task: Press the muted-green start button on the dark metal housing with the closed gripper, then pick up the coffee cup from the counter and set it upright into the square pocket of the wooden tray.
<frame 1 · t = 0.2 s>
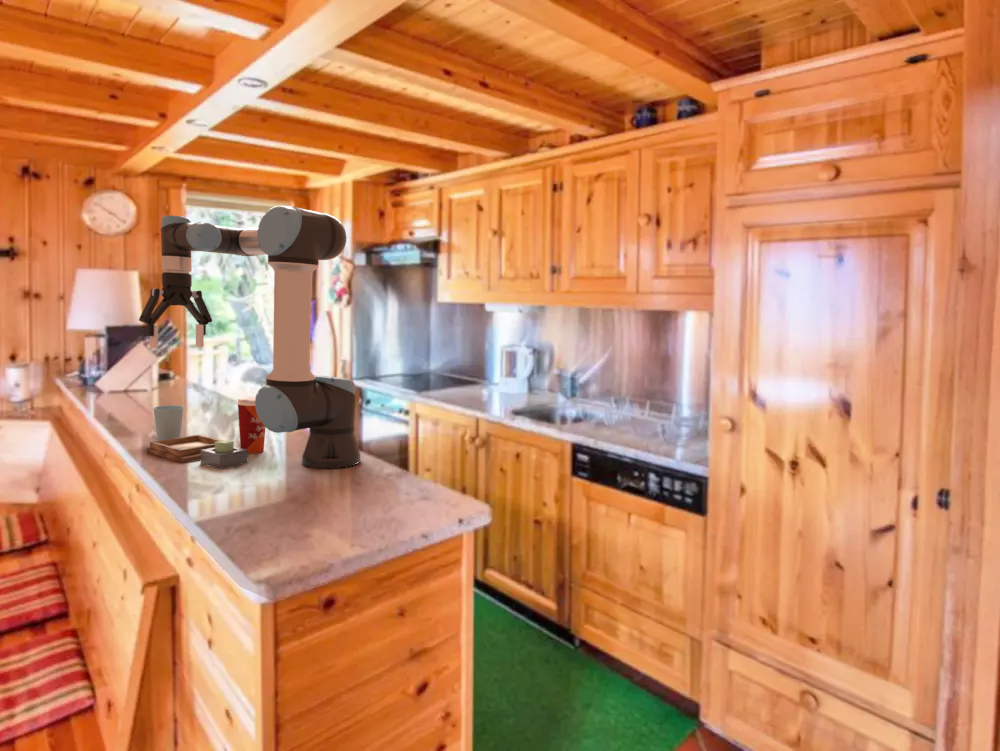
hand: (177, 347, 182), 28 cm above the counter, fingers open, 13 cm apart
wooden tray: (191, 452, 174), on the counter
start button: (224, 449, 164), point 3 cm above the counter, slide at 0.0 cm
cup: (168, 443, 183), on the counter
coffee cup: (252, 451, 179), on the counter
button housing: (224, 463, 164), on the counter
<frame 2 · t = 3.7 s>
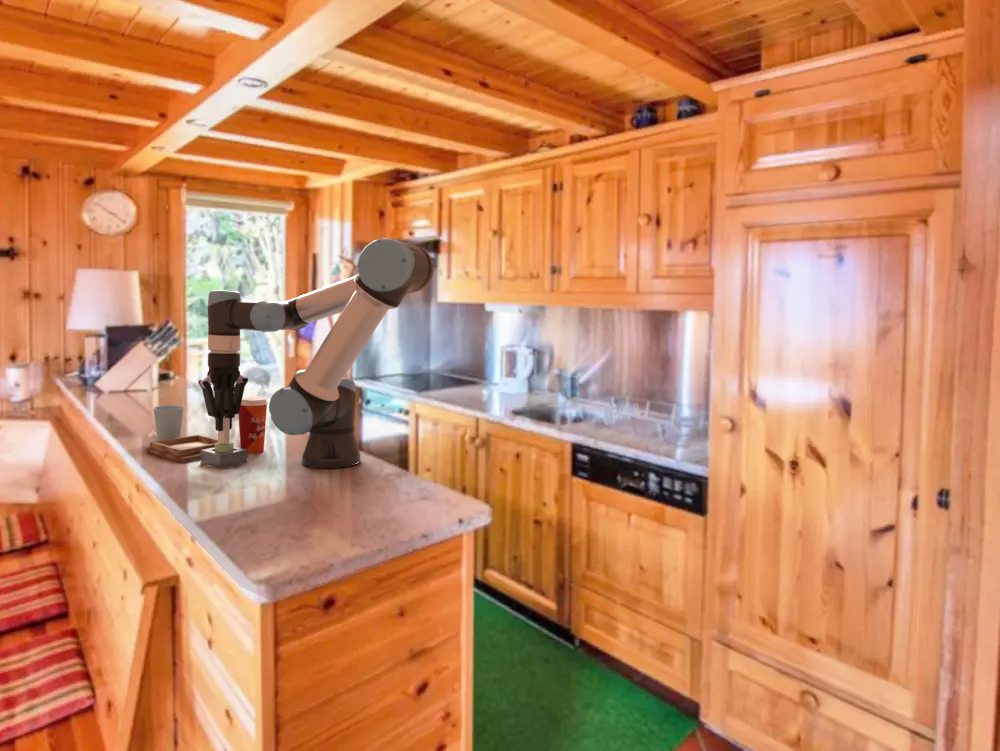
hand: (223, 442, 164), 5 cm above the counter, fingers closed
start button: (224, 451, 164), point 3 cm above the counter, slide at 0.4 cm, touching gripper
everything else where it was.
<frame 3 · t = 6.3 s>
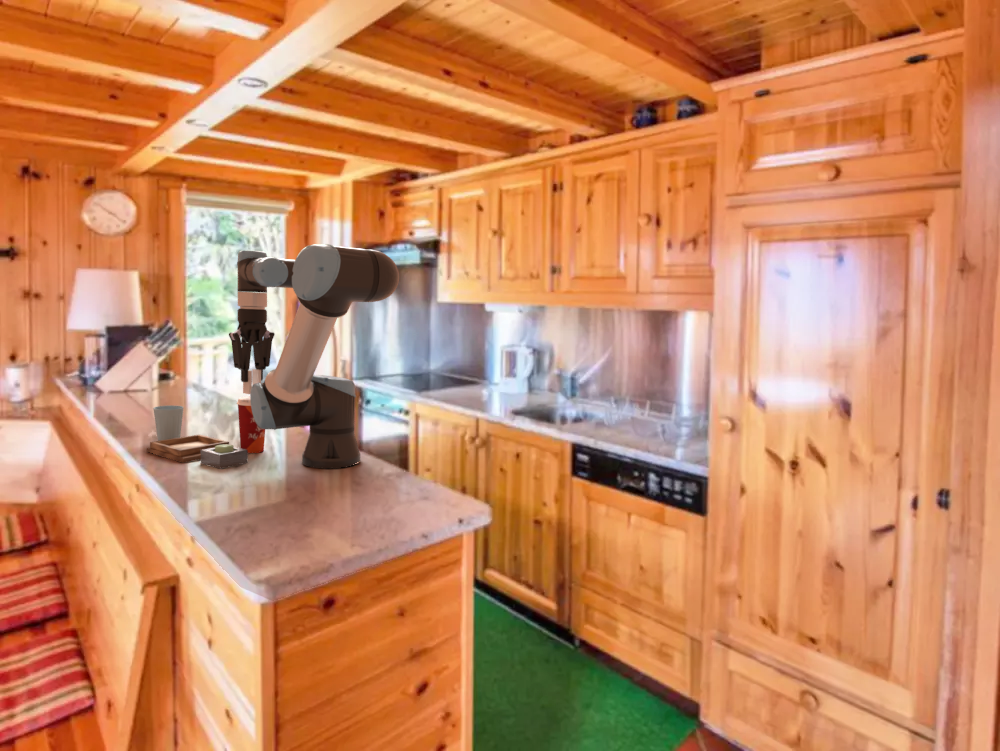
hand: (252, 392, 176), 17 cm above the counter, fingers open, 2 cm apart
start button: (224, 453, 164), point 2 cm above the counter, slide at 1.1 cm
everything else where it was.
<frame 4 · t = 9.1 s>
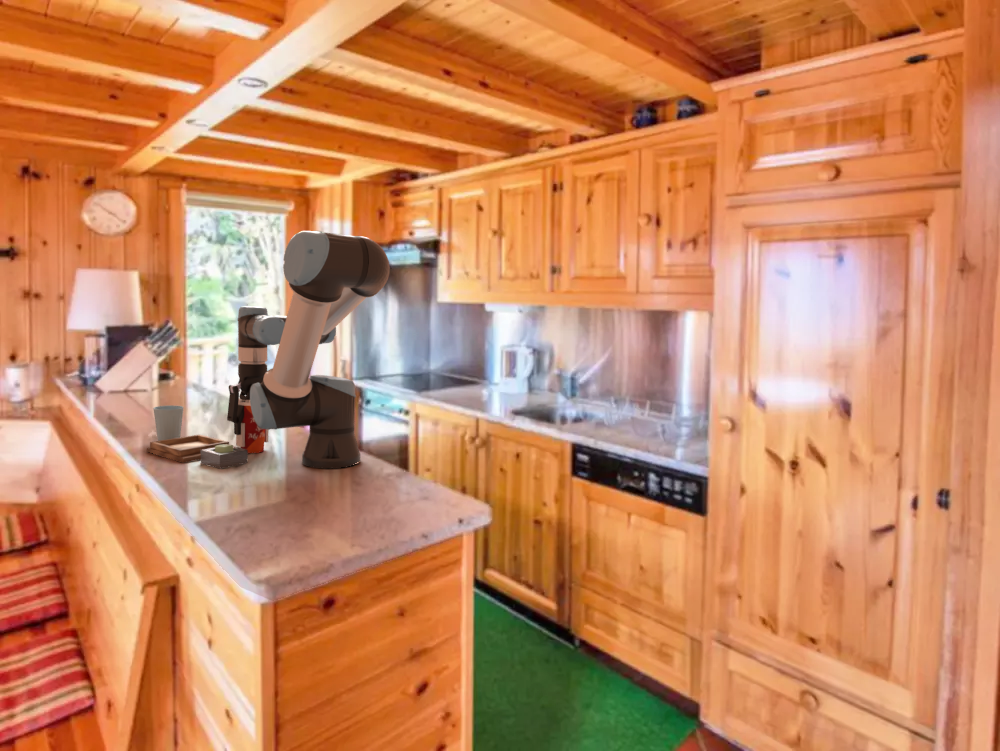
hand: (252, 443, 178), 2 cm above the counter, fingers closed on coffee cup, 7 cm apart
coffee cup: (252, 451, 179), on the counter, touching gripper
everything else where it was.
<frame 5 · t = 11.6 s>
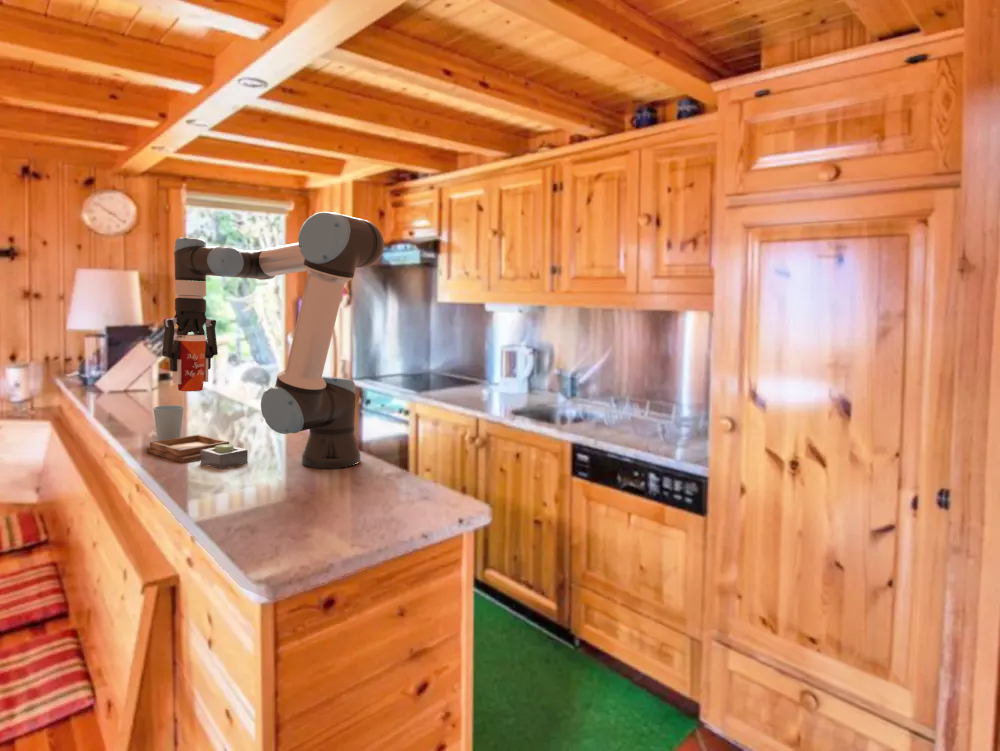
hand: (190, 382, 172), 19 cm above the counter, fingers closed on coffee cup, 7 cm apart
coffee cup: (190, 390, 172), point 17 cm above the counter, touching gripper
everything else where it was.
when the fingers open (4 cm above the counter, at t = 14.4 s): coffee cup stays where it is, resting on wooden tray.
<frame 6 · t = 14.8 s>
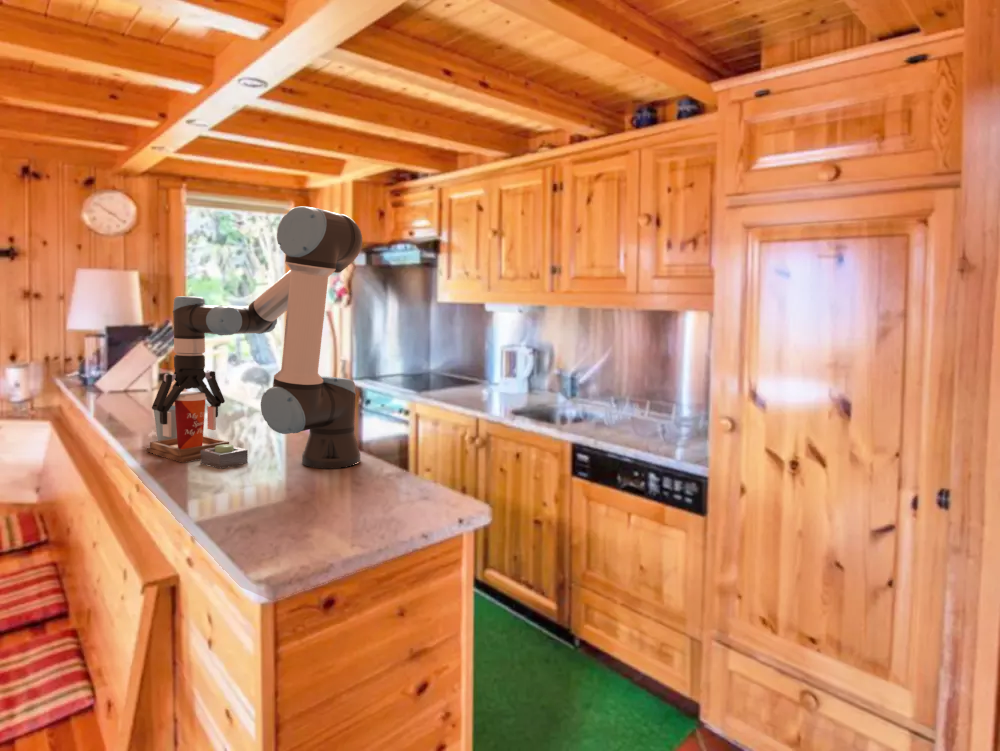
hand: (190, 432, 173), 5 cm above the counter, fingers open, 12 cm apart
coffee cup: (190, 448, 174), point 1 cm above the counter, touching wooden tray
everything else where it was.
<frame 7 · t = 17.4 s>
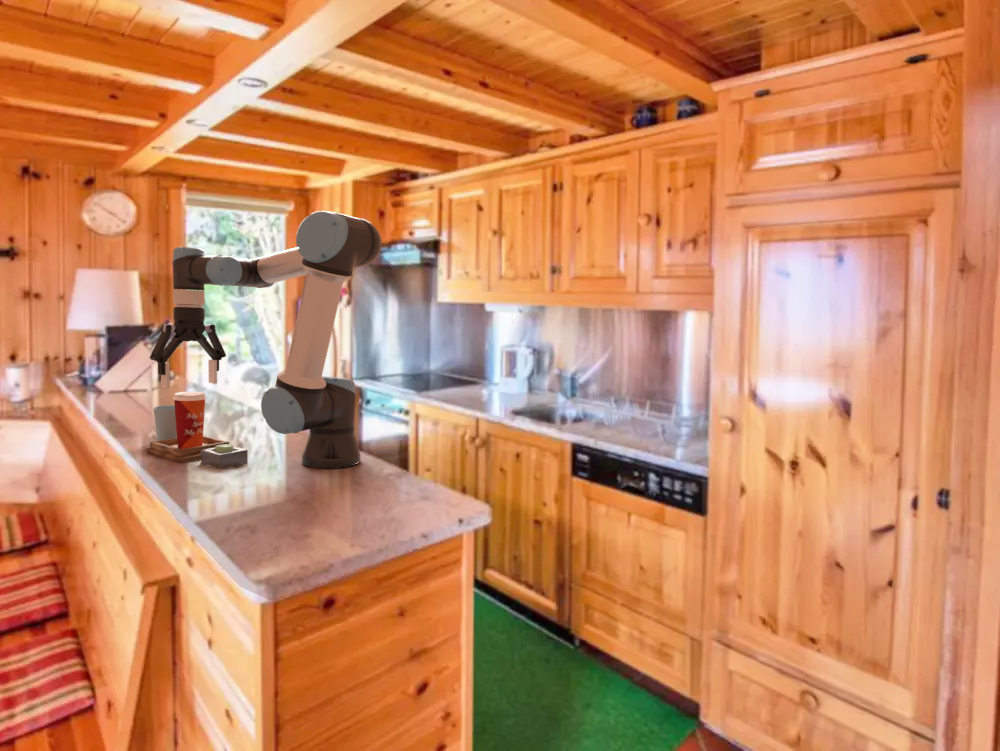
hand: (189, 385, 172), 18 cm above the counter, fingers open, 13 cm apart
nothing on the counter moved.
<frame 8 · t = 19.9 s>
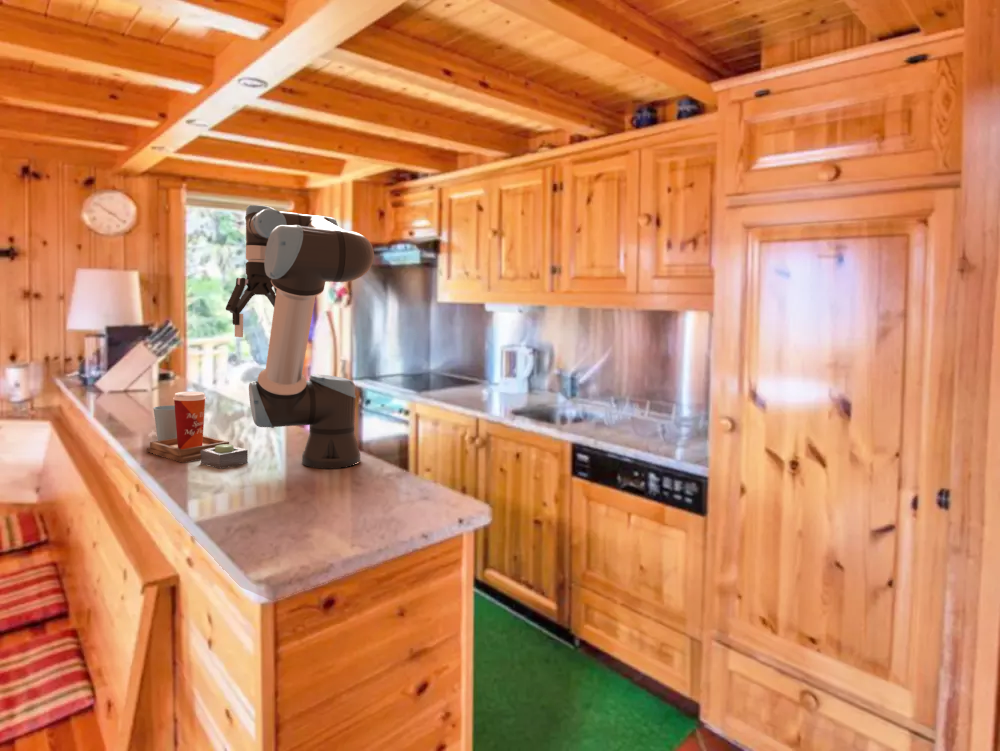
hand: (259, 336, 183), 32 cm above the counter, fingers open, 13 cm apart
nothing on the counter moved.
at the end: coffee cup inside the target area on the wooden tray (0.0 cm from its centre), point 1.1 cm above the wooden tray's base; coffee cup tilted 0°; start button slide at 1.1 cm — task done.
